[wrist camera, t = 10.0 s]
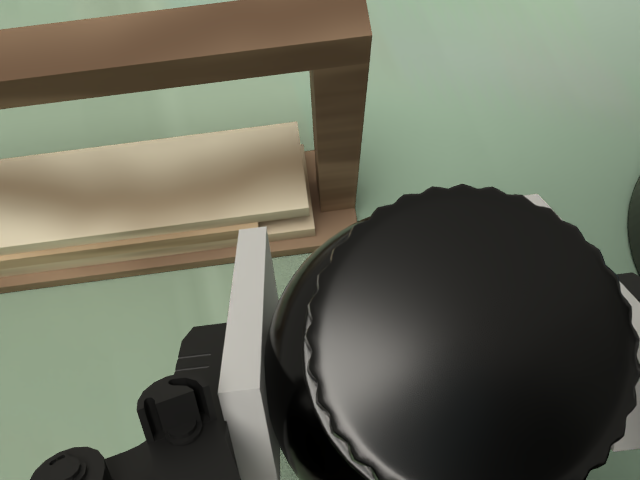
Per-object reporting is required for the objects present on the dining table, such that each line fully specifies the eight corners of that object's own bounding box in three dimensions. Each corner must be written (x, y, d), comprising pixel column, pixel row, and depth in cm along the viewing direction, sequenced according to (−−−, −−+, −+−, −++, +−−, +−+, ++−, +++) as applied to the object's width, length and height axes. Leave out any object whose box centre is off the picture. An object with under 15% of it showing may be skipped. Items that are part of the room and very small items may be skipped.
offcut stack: (-46, 197, 37) (-90, 170, 33) (304, 153, 37) (301, 121, 33) (-51, 283, 35) (-97, 266, 31) (315, 236, 35) (313, 212, 32)
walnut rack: (-92, 210, 38) (-433, 33, 21) (344, 154, 38) (354, -62, 21) (-99, 306, 36) (-479, 196, 19) (359, 246, 36) (381, 88, 20)
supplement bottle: (504, 514, 19) (755, 646, 7) (283, 498, 19) (197, 600, 8) (499, 295, 21) (692, 132, 9) (299, 284, 21) (250, 114, 10)
